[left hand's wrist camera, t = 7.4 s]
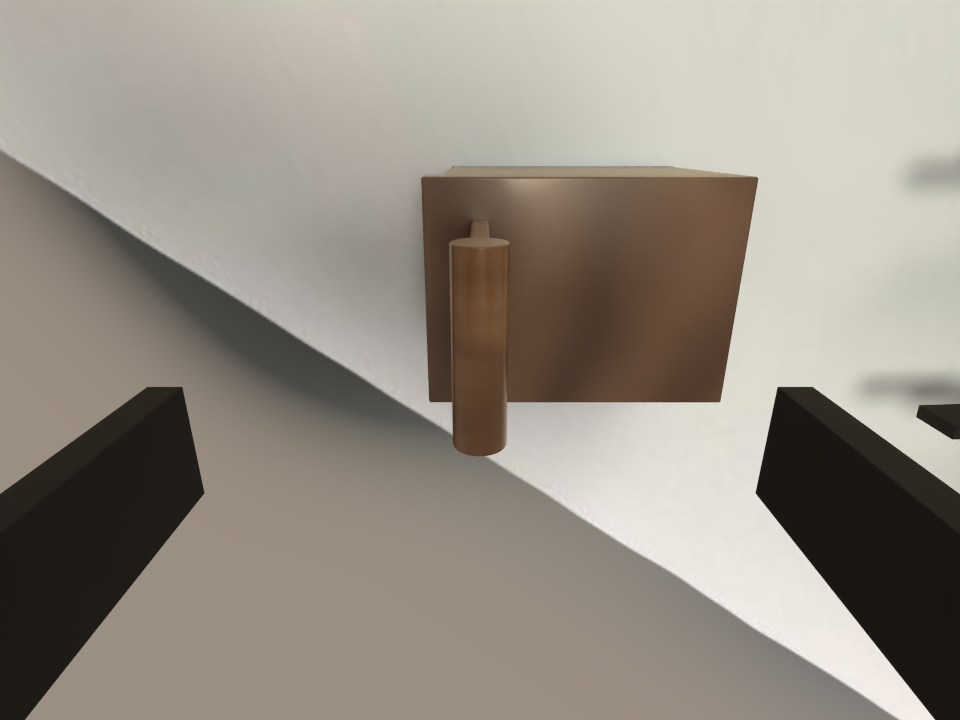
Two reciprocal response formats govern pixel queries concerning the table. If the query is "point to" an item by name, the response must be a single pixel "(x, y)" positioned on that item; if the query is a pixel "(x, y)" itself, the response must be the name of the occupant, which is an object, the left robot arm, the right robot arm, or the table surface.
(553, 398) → the lid
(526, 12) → the table surface
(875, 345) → the table surface
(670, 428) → the table surface
